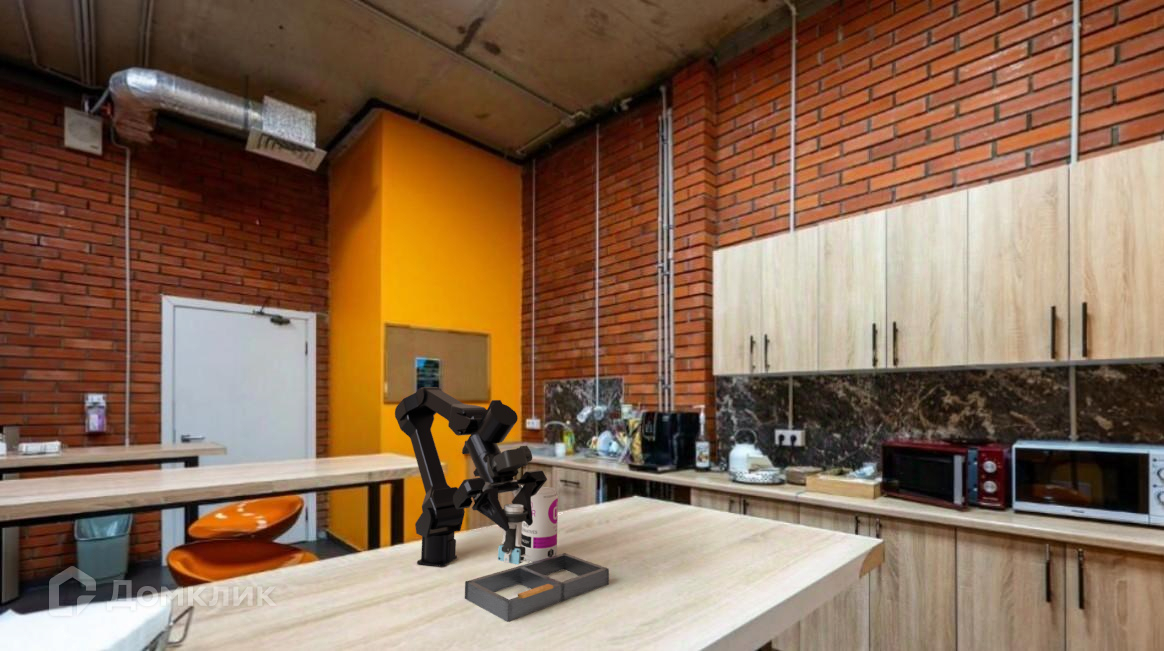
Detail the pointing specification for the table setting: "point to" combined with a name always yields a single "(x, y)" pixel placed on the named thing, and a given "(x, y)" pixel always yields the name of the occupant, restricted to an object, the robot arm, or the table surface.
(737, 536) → the table surface
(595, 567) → the grey divided tray
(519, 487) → the robot arm
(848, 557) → the table surface
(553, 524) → the supplement can
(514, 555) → the push button
